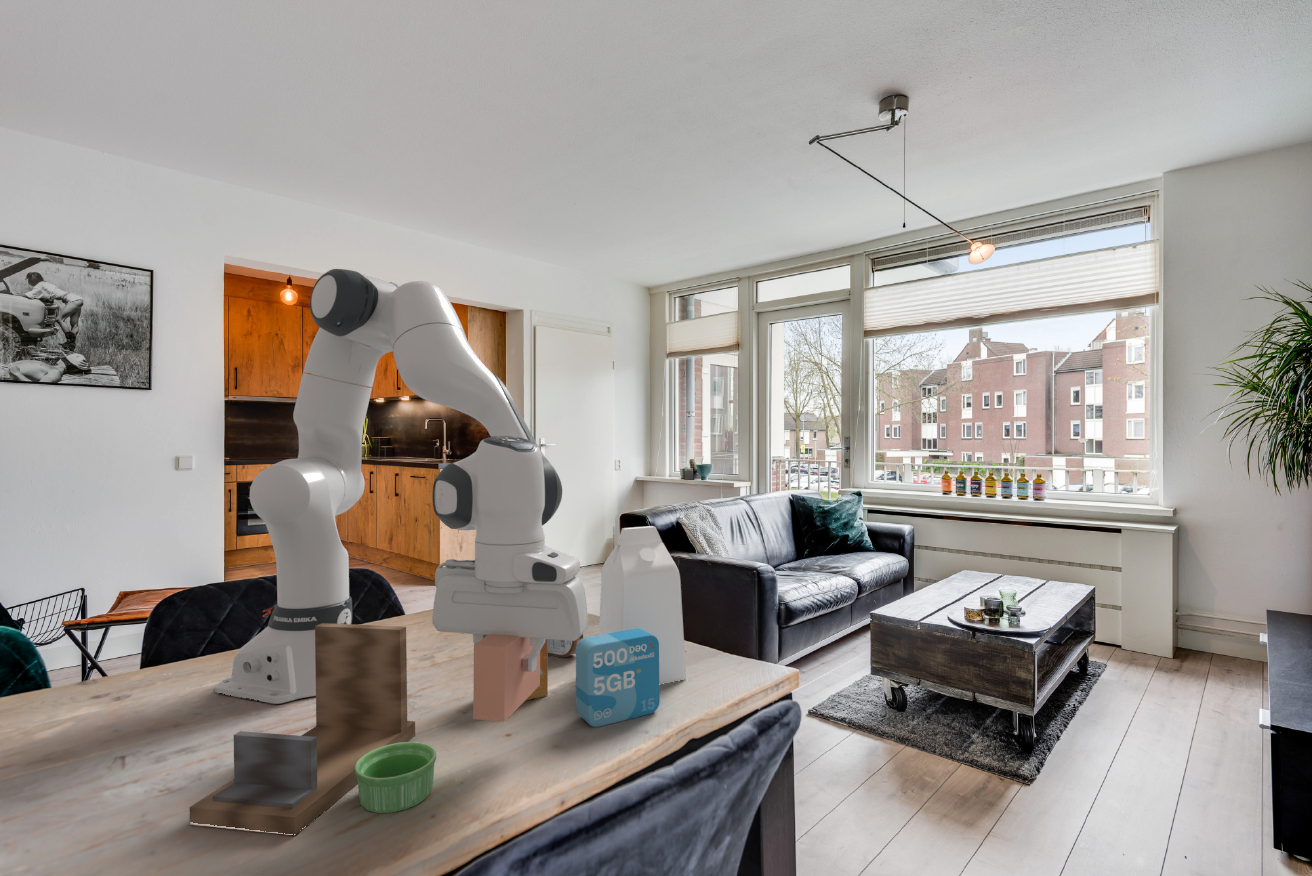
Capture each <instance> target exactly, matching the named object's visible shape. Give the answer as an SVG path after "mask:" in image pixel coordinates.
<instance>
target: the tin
mask: <svg viewBox="0 0 1312 876" xmlns="http://www.w3.org/2000/svg"><path fill="white" fill-rule="evenodd" d="M582 638H584V633H583V634H582V635H581V636H580V637H579V638H578V639H577V640H575V641H569V640H554V639H548V655H549V656H553V657H556V658H561V659H562V658H563V659H564V658H567V657H570V656H572V655H574V654H575V655H576V646H577V644H578V642H579V641H580V640H581V639H582Z"/></svg>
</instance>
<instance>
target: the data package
mask: <svg viewBox="0 0 1312 876" xmlns="http://www.w3.org/2000/svg"><path fill="white" fill-rule="evenodd" d="M660 686H661V685H659V641H658V639H657V638H656V637H655V636H654V635H652V634H650V633H648V632H646V631H644V630H642V629H640V628H636V629H630V630H624V631H619V632H613V633H607V634H601V635H599V634H597V635H590V636H586V637H583V638H582V639H581V640H580V641H579V642H578V644H577V646H576V653H575V691H576V693H575V694H576V695H575V698H576V699H575V700H576V703H575V705H576V712H577V714H578V715H579V716H580V717H581V718H582V719H583V720H584V721H585V722H586V723H588V725H589V726H591V727H593V728H599V727H603V726H607V725H612V724H615V723H620V722H623V721H627V720H632V719H636V718H641V717H644V716H648V715H652V714H654V713H655V712H656V711H657V710H658V709H659V706H660V704H661V703H660V702H661V701H660V699H661V698H660V697H661V695H660V690H661V689H660Z"/></svg>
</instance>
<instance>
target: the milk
mask: <svg viewBox="0 0 1312 876" xmlns="http://www.w3.org/2000/svg"><path fill="white" fill-rule="evenodd" d="M600 580H601V581H600V582H601V583H600V599H599V600H600V602H599V604H600V605H599V621H598V622H599V623H598V625H599V626H598V635H601V634H607V633H613V632H619V631H624V630H630V629H636V628H640V629H642V630H644V631H646V632H648V633H650V634H652V635H654V636H655V637H656V638H657V639H658V641H659V684H663V683H668V684H671V683H670V682H673V681H678V682H680V681H679V680H683V679H686V680H687V672H686V671H687V670H686V669H687V668H686V656H685V637H684V636H685V635H684V622H683V620H684V619H683V618H684V617H683V603H682V588H681V587H682V584H681V583H682V582H681V574H680V570H679V568H678V567H677V564H676V562H675V561H674V559H673V557H672V555H671V554H670V552H669V551H668V549H667V547H666V545H665V543H664V542H663V540H662V538H661V536H660V533H659V531H658V530H657V527H656V526H654V525H650V526H649V525H647V526H634V527H624V528H623V527H622V528H621V531H620V533H619V537H618V540H617V543H616V545H615V546H614V547H613V549H612V550H611V552H610V554H609V555H608V557H607V558H606V559H605V561H604V563H603V565H602V570H601V578H600ZM683 681H684V680H683ZM673 683H674V682H673ZM663 685H664V684H663Z"/></svg>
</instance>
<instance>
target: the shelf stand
mask: <svg viewBox="0 0 1312 876" xmlns="http://www.w3.org/2000/svg"><path fill="white" fill-rule="evenodd" d="M407 662H408V659H407V626H397V625H396V626H394V625H375V624H373V625H372V624H371V625H369V624H354V623H353V624H330V623H321V624H319V625H317V626H315V668H316V696H315V726H314V727H313V728H311V729H310V730H308V731H306V732H305V733H303V734H301V735H297V734H296V735H295V734H284V733H283V734H282V733H268V732H256V731H242V730H240V731H238V732H236V733H235V734H233V779H231V780H229V781H228V782H227V783H225V784H223V785H222V786H219V787H218V788H216V789H215V790H214V791H212V792H211V793H209V794H207V795H206V796H205V797H202V798H201V799H200V800H198V801H197V802H195V803H193V804H192V805H190V806H189V823H190V822H193V823H198V824H210V825H214V826H215V825H217V826H226V827H235V828H245V829H249V830H260V831H264V832H265V831H266V832H278V833H283V834H284V833H285V834H293V835H294V834H297V833H298V832H299V831H300V830H302V828H304V827H305V826H307V825H308V824H309V823H310V822H312V821H313V820H314V819H315V818H317V817H318V816H319V815H320V816H322V814H323V812H324V811H325V812H327V811H328V809H330V808H331V807H333V805H334V804H336V803H337V802H338V801H339V800H340V799H342V798H343V797H344V796H345V795H346V794H348V793H349V792H350V791H351V790H352V789H354V787H356V786H358V779H357V776H356V774H355V765H356V763H357V761H358V760H359V759H360V758H361V757H362V756H364V755H365V754H367V753H369V752H370V751H372V750H375V749H377V748H380V747H383V746H386V745H390V744H395V743H401V742H410V740H412V739H413V738H414V737H416V721H414V720H408V677H407V676H408V671H407V667H408V665H407ZM342 796H343V797H342ZM336 801H337V802H336ZM329 807H330V808H329ZM325 812H324V813H325ZM320 816H319V817H320ZM319 817H318V818H319ZM318 818H317V819H318ZM315 820H316V819H315ZM315 820H314V821H315ZM314 821H313V822H314ZM313 822H312V823H313ZM309 825H310V824H309ZM309 825H308V826H309ZM308 826H307V827H308ZM302 831H303V830H302Z"/></svg>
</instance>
